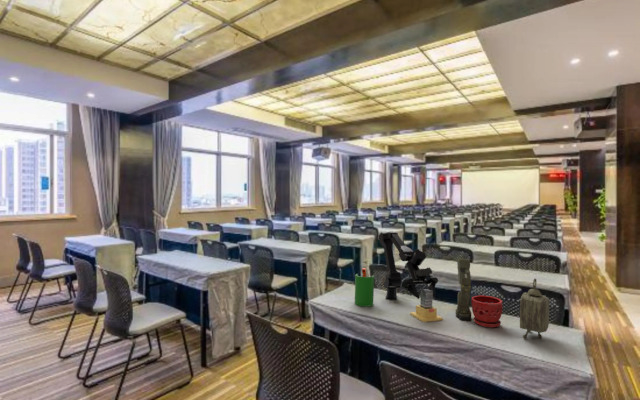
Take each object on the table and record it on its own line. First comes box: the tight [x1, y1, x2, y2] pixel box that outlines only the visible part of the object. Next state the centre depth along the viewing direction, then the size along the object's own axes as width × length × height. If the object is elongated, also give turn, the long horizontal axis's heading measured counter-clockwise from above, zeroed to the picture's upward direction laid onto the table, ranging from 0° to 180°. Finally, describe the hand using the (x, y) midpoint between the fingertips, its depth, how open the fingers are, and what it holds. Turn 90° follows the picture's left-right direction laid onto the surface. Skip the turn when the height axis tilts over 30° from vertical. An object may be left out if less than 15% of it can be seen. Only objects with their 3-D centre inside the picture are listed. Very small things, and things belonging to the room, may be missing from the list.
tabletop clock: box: [519, 278, 550, 340], centre depth 146 cm, size 14×9×25 cm, turn 141°
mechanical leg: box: [455, 257, 472, 322], centre depth 171 cm, size 14×7×30 cm, turn 169°
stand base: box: [409, 304, 443, 323], centre depth 168 cm, size 11×11×5 cm
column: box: [419, 288, 434, 309], centre depth 168 cm, size 4×4×12 cm
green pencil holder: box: [354, 267, 375, 307], centre depth 186 cm, size 10×9×20 cm
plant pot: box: [470, 295, 503, 329], centre depth 160 cm, size 13×13×12 cm
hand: (427, 297), depth 167 cm, fingers open, 9 cm apart
